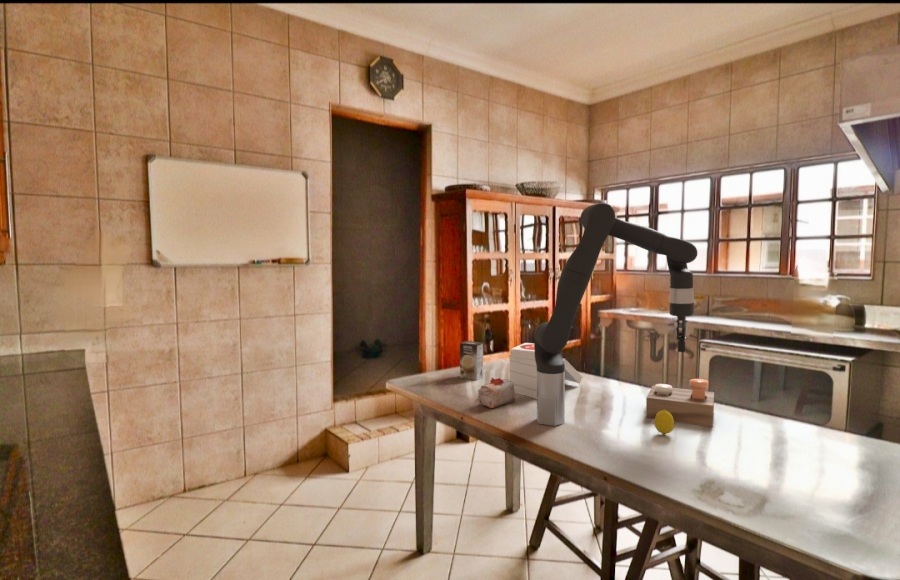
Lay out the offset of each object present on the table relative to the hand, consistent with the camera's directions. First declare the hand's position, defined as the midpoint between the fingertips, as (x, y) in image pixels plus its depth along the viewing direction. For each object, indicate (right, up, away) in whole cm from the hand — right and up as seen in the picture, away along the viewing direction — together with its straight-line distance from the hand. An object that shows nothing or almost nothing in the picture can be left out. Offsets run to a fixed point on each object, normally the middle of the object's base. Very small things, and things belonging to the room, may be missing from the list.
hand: (681, 351), depth 170 cm
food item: (-61, -22, +17) cm, 68 cm away
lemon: (-13, -24, -16) cm, 32 cm away
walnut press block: (0, -22, +1) cm, 22 cm away
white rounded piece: (-5, -21, +4) cm, 22 cm away
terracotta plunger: (+5, -18, -2) cm, 19 cm away
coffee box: (-69, -19, +55) cm, 91 cm away
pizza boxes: (-40, -20, +36) cm, 57 cm away
